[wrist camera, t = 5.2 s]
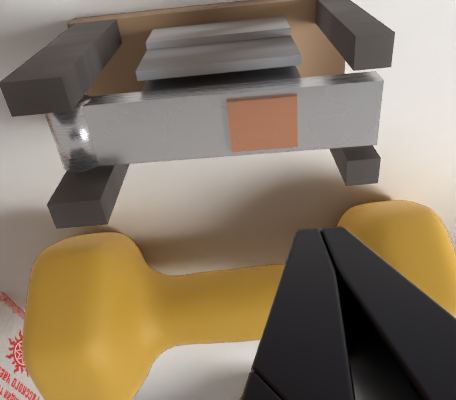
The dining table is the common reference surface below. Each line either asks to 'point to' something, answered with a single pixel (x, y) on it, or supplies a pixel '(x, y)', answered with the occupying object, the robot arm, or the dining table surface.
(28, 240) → the dining table surface
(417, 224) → the dumbbell
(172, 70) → the grey and tan frame
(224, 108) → the grey bar
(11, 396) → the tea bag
